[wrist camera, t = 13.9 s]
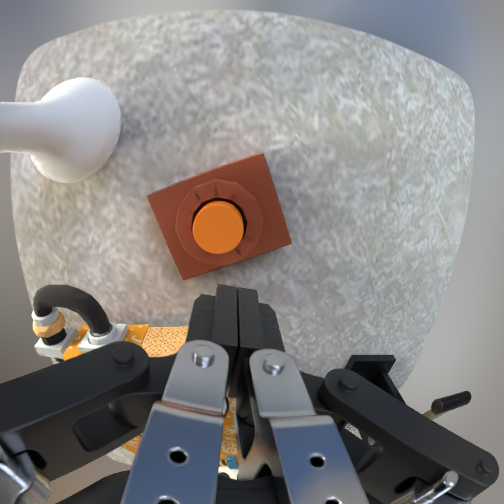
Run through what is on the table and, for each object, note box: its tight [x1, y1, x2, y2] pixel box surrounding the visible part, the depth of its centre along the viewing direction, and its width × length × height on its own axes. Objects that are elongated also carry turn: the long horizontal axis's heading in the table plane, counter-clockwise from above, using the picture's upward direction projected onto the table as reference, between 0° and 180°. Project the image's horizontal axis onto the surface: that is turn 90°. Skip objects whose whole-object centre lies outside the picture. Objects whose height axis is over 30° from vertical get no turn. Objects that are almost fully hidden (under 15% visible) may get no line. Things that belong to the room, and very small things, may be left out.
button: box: [193, 201, 244, 254], centre depth 20 cm, size 4×4×2 cm
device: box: [32, 285, 239, 469], centre depth 26 cm, size 23×8×30 cm
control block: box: [147, 153, 292, 280], centre depth 22 cm, size 10×8×4 cm
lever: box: [422, 391, 471, 420], centre depth 20 cm, size 12×5×2 cm, turn 168°
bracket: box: [345, 355, 406, 447], centre depth 27 cm, size 8×7×13 cm
